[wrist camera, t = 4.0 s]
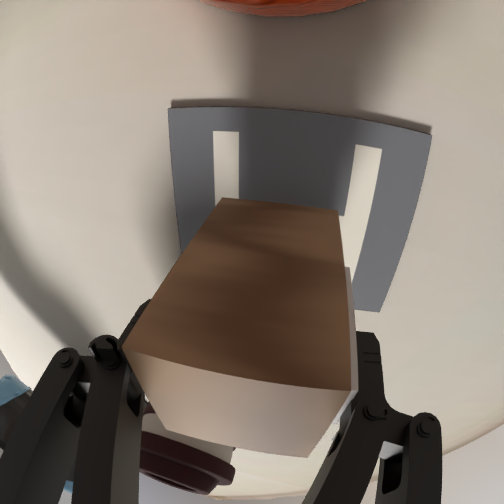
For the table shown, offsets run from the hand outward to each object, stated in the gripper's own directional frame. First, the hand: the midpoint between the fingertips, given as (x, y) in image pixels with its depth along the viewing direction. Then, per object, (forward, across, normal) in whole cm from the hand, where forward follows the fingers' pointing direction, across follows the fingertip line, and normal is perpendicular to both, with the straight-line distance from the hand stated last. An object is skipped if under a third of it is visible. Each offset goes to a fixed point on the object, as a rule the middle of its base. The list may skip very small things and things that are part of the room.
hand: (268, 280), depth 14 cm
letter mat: (+6, 0, 0) cm, 6 cm away
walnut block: (+2, 0, 0) cm, 2 cm away
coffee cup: (+7, -6, -17) cm, 19 cm away
